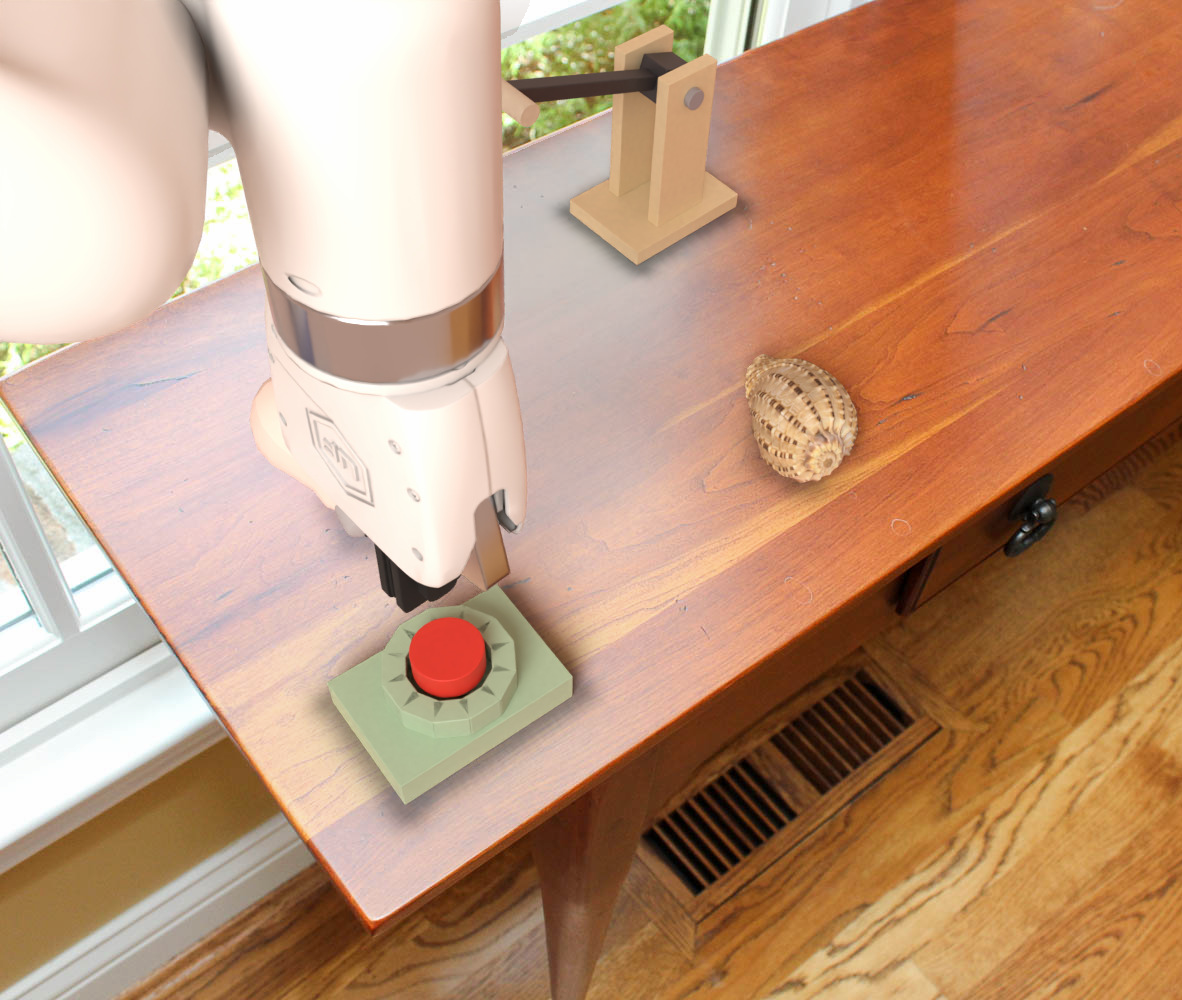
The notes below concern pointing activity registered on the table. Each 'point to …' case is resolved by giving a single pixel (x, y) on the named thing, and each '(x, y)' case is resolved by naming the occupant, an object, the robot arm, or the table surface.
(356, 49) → the robot arm
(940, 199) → the table surface
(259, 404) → the light bulb
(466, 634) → the button
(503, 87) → the lever
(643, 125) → the bracket
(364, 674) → the control block
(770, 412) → the seashell
